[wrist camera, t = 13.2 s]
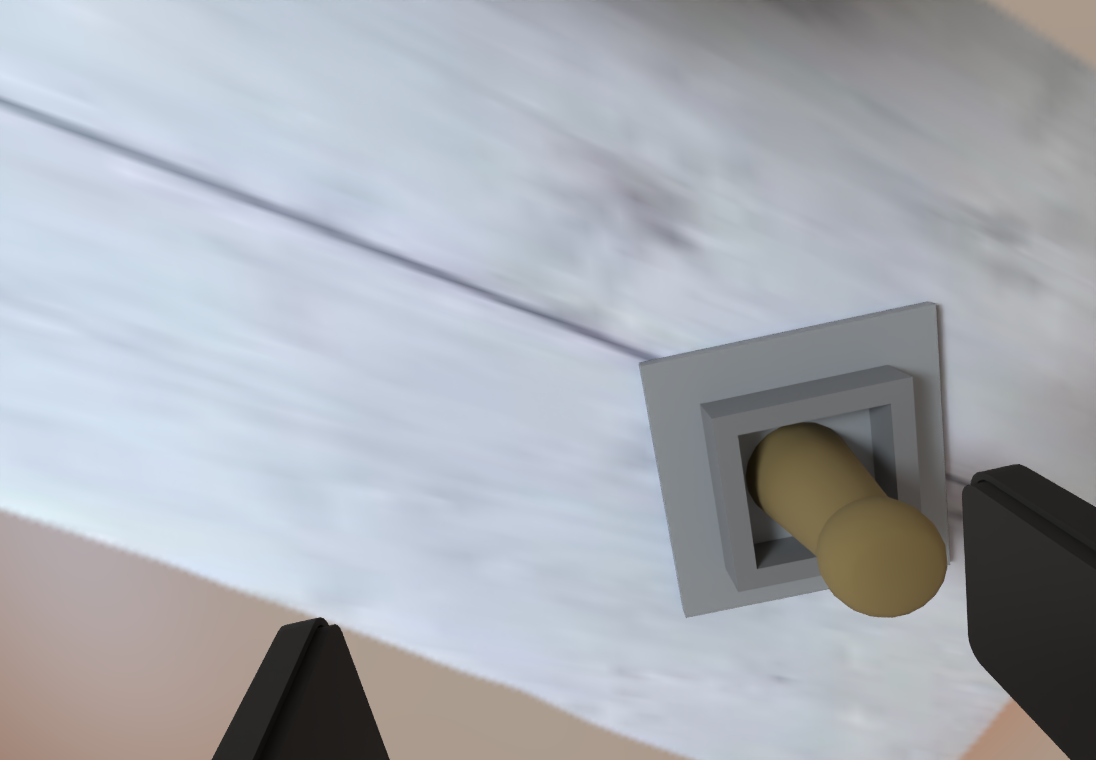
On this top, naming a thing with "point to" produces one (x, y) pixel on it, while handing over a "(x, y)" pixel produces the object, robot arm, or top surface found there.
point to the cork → (847, 521)
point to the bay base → (778, 400)
